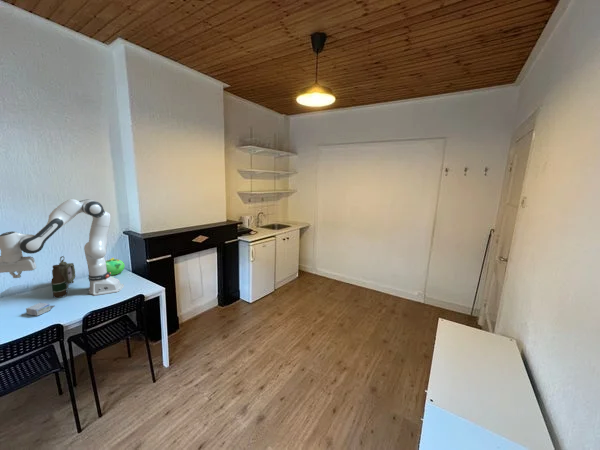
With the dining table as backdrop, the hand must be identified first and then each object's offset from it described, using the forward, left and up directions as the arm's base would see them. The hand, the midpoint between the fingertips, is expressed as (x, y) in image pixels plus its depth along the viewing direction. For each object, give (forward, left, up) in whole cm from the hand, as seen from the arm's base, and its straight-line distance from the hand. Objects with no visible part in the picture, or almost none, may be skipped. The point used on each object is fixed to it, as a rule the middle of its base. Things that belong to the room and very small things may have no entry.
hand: (17, 277), depth 163 cm
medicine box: (-6, +1, -22) cm, 23 cm away
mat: (-10, 0, -24) cm, 26 cm away
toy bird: (-32, -57, -24) cm, 70 cm away
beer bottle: (-10, -21, -24) cm, 34 cm away
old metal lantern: (-5, -39, -24) cm, 46 cm away
